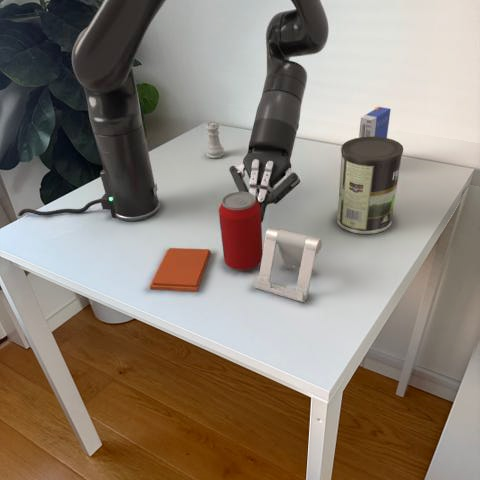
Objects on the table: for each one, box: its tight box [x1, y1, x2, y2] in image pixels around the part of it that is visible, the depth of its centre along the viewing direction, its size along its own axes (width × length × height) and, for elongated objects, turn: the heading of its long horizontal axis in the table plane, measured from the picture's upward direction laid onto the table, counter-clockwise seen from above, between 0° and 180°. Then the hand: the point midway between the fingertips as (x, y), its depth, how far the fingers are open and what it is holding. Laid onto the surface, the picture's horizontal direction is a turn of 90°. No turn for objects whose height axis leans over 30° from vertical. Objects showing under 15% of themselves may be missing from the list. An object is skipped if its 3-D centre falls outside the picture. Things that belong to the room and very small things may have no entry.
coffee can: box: [336, 137, 404, 235], centre depth 87 cm, size 10×10×14 cm
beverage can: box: [218, 191, 264, 271], centre depth 80 cm, size 7×7×12 cm
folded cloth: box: [149, 247, 212, 293], centre depth 83 cm, size 8×11×1 cm
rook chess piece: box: [205, 120, 225, 160], centre depth 116 cm, size 4×4×8 cm
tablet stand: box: [252, 227, 323, 303], centre depth 75 cm, size 9×8×8 cm
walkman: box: [358, 106, 392, 138], centre depth 104 cm, size 8×3×12 cm, turn 138°
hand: (252, 224), depth 83 cm, fingers closed
